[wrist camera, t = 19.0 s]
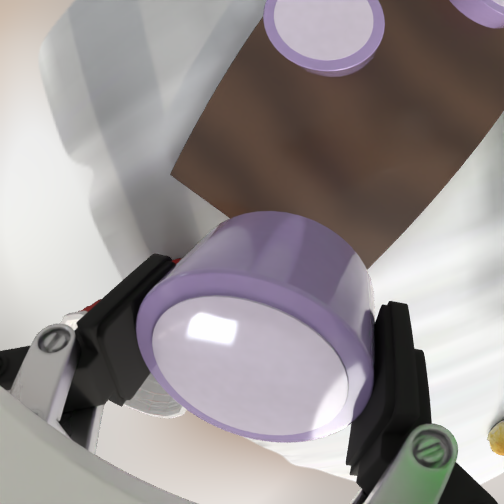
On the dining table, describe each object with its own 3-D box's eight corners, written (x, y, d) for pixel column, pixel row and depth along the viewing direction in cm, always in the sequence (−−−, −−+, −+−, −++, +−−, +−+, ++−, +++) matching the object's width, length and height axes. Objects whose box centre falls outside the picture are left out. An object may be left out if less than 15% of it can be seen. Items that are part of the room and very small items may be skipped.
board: (379, -110, 8) (379, -116, 7) (553, 21, 8) (559, 19, 8) (176, 171, 24) (169, 174, 23) (338, 291, 24) (337, 298, 24)
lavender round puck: (249, 166, 9) (188, 206, 6) (414, 297, 9) (429, 384, 6) (165, 300, 12) (114, 359, 9) (294, 389, 12) (272, 460, 9)
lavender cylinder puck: (311, -27, 13) (302, -49, 10) (398, 24, 14) (407, 9, 11) (259, 43, 17) (241, 33, 14) (343, 96, 17) (341, 94, 14)
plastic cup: (185, 341, 33) (127, 425, 23) (124, 261, 30) (42, 331, 20) (267, 315, 28) (216, 426, 18) (197, 212, 25) (98, 292, 15)
